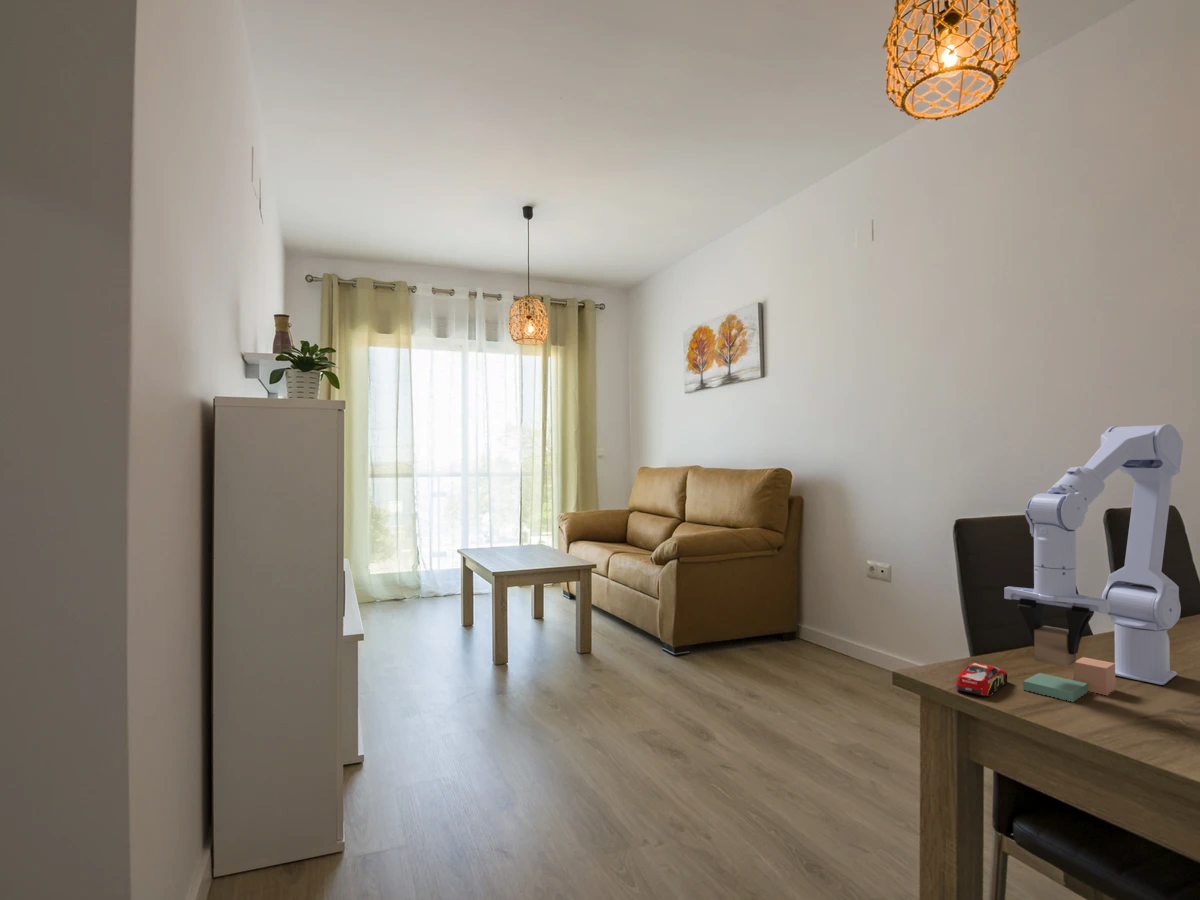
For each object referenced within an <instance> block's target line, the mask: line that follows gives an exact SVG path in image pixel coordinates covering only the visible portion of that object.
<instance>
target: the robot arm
mask: <svg viewBox="0 0 1200 900" xmlns="http://www.w3.org/2000/svg"><path fill="white" fill-rule="evenodd" d="M1183 446H1184V441H1183V438H1182V437H1181V435H1180V432H1179V431H1178V430H1177V428H1176V427H1175V426H1174V425H1172V424H1171V423H1170V424H1169V423H1164V424H1159V425H1133V426H1132V425H1130V426H1118V425H1114V426H1113V425H1111V426H1110V427H1108V428H1107V429H1106V430H1105V432H1104V433H1102V434H1101V435H1100V447H1099V448H1098V449H1097V450H1096V452H1095V453H1094V454H1093V455H1092V456H1091V457H1090V458H1089V460H1088V461H1087V462H1086V464H1084V465H1083V466H1075V467H1073V466H1072V467H1071V466H1070V467H1069V468H1068V469H1067V470H1066V473H1065V474H1064V475H1063V476H1062V477H1061V478H1060V479H1059V480H1058V481H1057V482H1055V484H1053V486H1051V487H1050V488H1049V489H1048V490H1047V491H1046V492H1045V493H1044V492H1041V493H1039V492H1038V493H1037V494H1035V495H1033V496H1031V498H1029V500H1028V501H1027V504H1026V509H1024V514H1025V519H1026V521H1027V523H1028V526H1029V534H1031V535H1030V536H1031V537H1033V584H1034V585H1033V588H1029V587H1028V588H1027V587H1017V586H1006V587H1004V588H1003V589H1004V594H1003V595H1004V596H1003V598H1004V600H1005V599H1006V600H1016V601H1019V603H1018V604H1017V610H1018V611H1019V613H1020V615H1021V616H1022V618H1023V620H1024V622H1025V624H1026V626H1027V630H1028V632H1029V635H1030V639H1031V643H1032V647H1033V648H1034V630H1035V629H1038V628H1040V627H1042V626H1043V616H1044V609H1045V608H1044V607H1045V605H1049V606H1050V605H1051V606H1057V607H1062V608H1063V607H1064V608H1070V609H1069V610H1066V611H1065V616H1066V619H1067V630H1068V631H1069V640H1068V650H1069V654H1073V655H1074V654H1076V655H1077V654H1078V653H1079V647H1080V645H1081V640H1082V636H1083V635H1084V633H1085V629H1086V628H1087V626H1088V625H1089V622H1090V621H1091V620H1092V617H1093V616H1094V614H1095V612H1096V613H1097V612H1098V613H1099V614H1104V615H1106V616H1108V617H1109V621H1110V622H1112V623H1114V663H1115V677H1121V678H1125V679H1131V680H1135V681H1140V682H1146V683H1151V684H1154V685H1155V684H1156V685H1159V686H1161V685H1162V686H1164V685H1166V684H1167V683H1168V682H1169V681H1170V680H1172V679H1173V678H1174V677H1175V676H1176V675H1178V673H1177V671H1174V670H1171V669H1170V663H1171V662H1170V660H1171V659H1170V637H1169V635H1168V630H1169V629H1172V627H1173V626H1175V625H1176V624H1177V622H1178V621H1179V619H1180V617H1181V609H1182V606H1181V602H1180V593H1179V592H1180V589H1179V588H1180V587H1179V585H1177V584H1176V582H1174V581H1173V580H1172V579H1171V578H1169V577H1168V576H1167V575H1165V573H1163V571H1162V568H1163V561H1164V560H1163V559H1164V553H1165V552H1164V550H1165V544H1166V537H1167V536H1166V535H1167V527H1168V526H1167V525H1168V520H1169V509H1170V502H1171V493H1172V485H1173V477H1174V476H1176V475H1177V474H1179V473H1180V469H1181V464H1182V455H1183V448H1184V447H1183ZM1117 470H1120V471H1121V472H1122V473H1124V474H1126V475H1129V476H1131V478H1132V480H1134V485H1133V494H1132V501H1131V511H1130V519H1129V527H1128V535H1127V543H1126V550H1125V558H1124V566H1122V567H1121V568H1119V569H1117V570H1116V571H1115V570H1114V571H1113V572H1111V573H1110V574H1109V575H1108V577H1107V581H1106V585H1105V587H1104V590H1103V591H1102V594H1101V598H1098V597H1094V596H1089V595H1085V594H1077V585H1076V584H1077V571H1076V570H1077V565H1076V564H1077V562H1076V561H1077V558H1076V557H1077V552H1076V551H1077V550H1076V549H1077V548H1076V547H1077V546H1076V545H1077V542H1076V539H1077V537H1076V536H1077V535H1076V534H1077V532H1076V530H1077V529H1079V528H1080V527H1082V526H1083V523H1084V521H1085V518H1086V517H1085V516H1086V514H1087V512H1088V511H1089V510H1088V509H1089V506H1090V504H1092V503H1093V502H1094V501H1095V500H1096V499H1097V498H1098V497H1099V495H1101V494H1102V492H1104V491H1105V481H1104V480H1106V479H1107V478H1108V477H1109V476H1111V475H1112V474H1113V473H1114V472H1116V471H1117ZM1132 585H1133V586H1132ZM1134 585H1139V586H1147V587H1153V588H1154V589H1153V588H1146V587H1139V586H1134Z"/></svg>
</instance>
